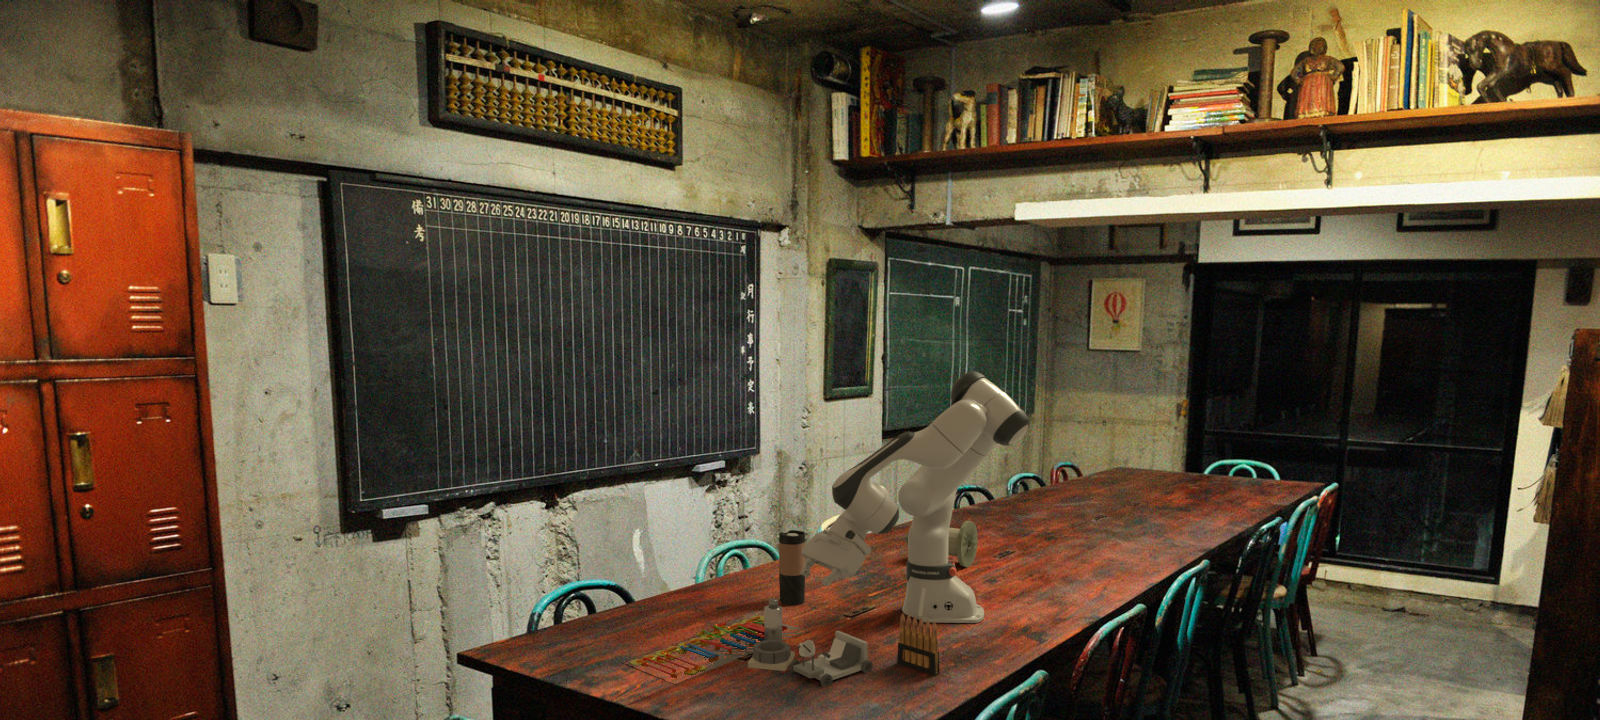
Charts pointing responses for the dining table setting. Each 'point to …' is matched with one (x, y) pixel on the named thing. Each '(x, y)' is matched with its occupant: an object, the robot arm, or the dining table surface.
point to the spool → (963, 543)
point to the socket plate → (771, 655)
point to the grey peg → (773, 620)
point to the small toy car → (833, 659)
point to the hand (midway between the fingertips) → (813, 580)
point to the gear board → (749, 630)
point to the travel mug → (791, 567)
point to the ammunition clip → (918, 646)
